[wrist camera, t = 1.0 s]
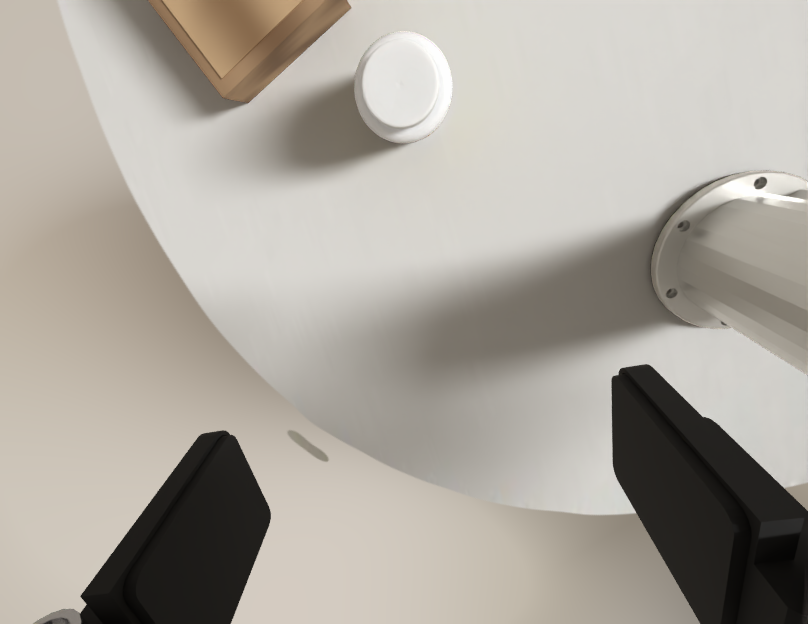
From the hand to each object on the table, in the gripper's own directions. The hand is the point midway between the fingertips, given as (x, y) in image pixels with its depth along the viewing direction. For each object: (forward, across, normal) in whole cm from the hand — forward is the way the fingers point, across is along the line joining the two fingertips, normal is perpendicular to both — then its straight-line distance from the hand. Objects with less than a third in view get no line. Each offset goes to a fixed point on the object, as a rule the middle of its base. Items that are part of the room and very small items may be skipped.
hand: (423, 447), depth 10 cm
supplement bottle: (+26, -1, -10) cm, 27 cm away
